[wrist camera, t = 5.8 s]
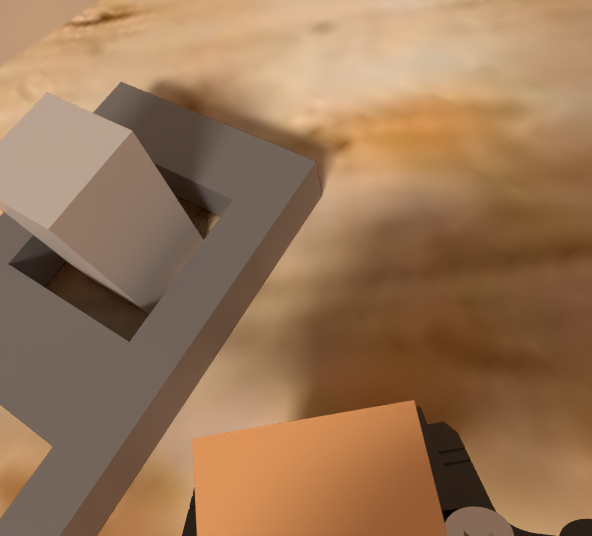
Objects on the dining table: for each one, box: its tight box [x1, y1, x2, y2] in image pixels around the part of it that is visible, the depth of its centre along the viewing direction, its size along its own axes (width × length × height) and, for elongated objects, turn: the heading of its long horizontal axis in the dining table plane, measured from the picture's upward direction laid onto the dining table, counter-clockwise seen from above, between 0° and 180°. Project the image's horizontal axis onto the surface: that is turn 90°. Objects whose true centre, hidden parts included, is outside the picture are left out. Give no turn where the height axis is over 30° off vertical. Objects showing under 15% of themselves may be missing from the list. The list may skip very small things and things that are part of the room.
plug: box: [192, 400, 448, 536], centre depth 12 cm, size 4×4×10 cm
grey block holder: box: [0, 82, 322, 536], centre depth 18 cm, size 24×11×8 cm, turn 149°
